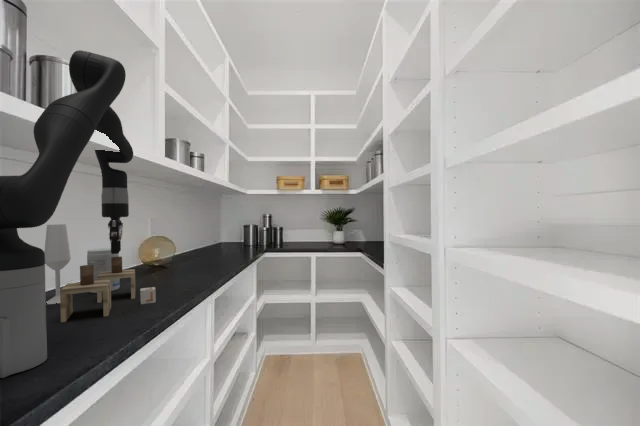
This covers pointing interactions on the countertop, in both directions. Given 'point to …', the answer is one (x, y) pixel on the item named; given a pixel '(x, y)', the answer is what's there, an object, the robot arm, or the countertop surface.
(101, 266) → the supplement tub
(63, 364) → the countertop surface
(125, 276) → the oak cover
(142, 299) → the letter cube
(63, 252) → the champagne flute
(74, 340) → the countertop surface
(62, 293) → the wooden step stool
